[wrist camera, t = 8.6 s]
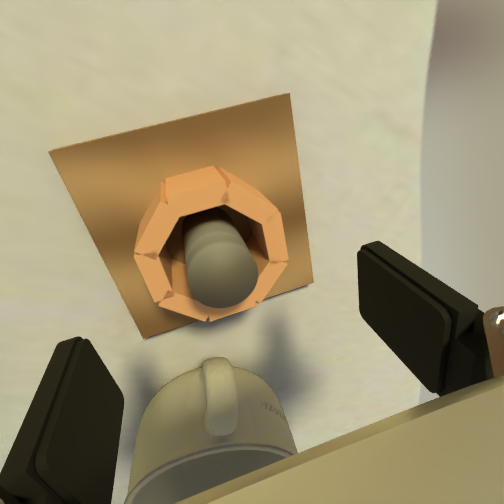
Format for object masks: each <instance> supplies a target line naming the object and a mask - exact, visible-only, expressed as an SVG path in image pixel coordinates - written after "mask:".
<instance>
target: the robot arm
mask: <svg viewBox="0 0 504 504" xmlns="http://www.w3.org/2000/svg"><path fill="white" fill-rule="evenodd" d="M357 265H358V289H359V310H360V314H361V316H362V318H363V319H364V320H365V321H366V322H367V324H368V325H369V326H370V327H371V328H372V329H373V330H374V331H375V332H376V333H377V335H378V336H379V337H380V338H381V339H382V340H383V341H384V342H385V343H386V344H387V345H388V347H389V348H390V349H391V350H392V351H393V352H394V353H395V354H396V355H397V356H398V358H399V359H400V360H401V361H402V362H403V363H404V364H405V365H406V366H407V367H408V368H409V370H410V371H411V372H412V373H413V374H414V375H415V376H416V377H417V378H418V379H419V381H420V382H421V383H422V384H423V385H424V386H425V387H426V388H427V389H428V390H429V391H430V392H432V393H437V394H438V395H439V396H440V397H439V398H436V399H434V400H431V401H429V402H426V403H423V404H421V405H418V406H415V407H413V408H410V409H408V410H405V411H403V412H400V413H398V414H395V415H393V416H390V417H388V418H385V419H383V420H380V421H378V422H375V423H373V424H370V425H368V426H365V427H363V428H360V429H357V430H355V431H352V432H350V433H347V434H345V435H342V436H340V437H337V438H335V439H332V440H330V441H327V442H325V443H322V444H320V445H318V446H315V447H313V448H310V449H308V450H305V451H303V452H300V453H298V454H295V455H293V456H290V457H288V458H285V459H283V460H280V461H278V462H275V463H273V464H270V465H268V466H265V467H263V468H260V469H258V470H256V471H253V472H251V473H248V474H246V475H243V476H241V477H238V478H236V479H233V480H231V481H228V482H226V483H224V484H221V485H219V486H216V487H214V488H211V489H209V490H206V491H204V492H202V493H199V494H197V495H194V496H192V497H189V498H187V499H184V500H182V501H180V502H177V503H175V504H504V307H503V306H501V307H495V308H492V309H490V310H488V311H486V312H485V313H484V312H482V311H481V310H479V309H478V305H477V304H475V303H474V302H472V301H471V300H469V299H468V298H466V297H465V296H463V295H461V294H460V293H458V292H457V291H455V290H454V289H452V288H451V287H449V286H448V285H446V284H445V283H443V282H441V281H440V280H438V279H437V278H435V277H434V276H432V275H431V274H429V273H428V272H426V271H425V270H423V269H422V268H420V267H418V266H417V265H415V264H414V263H412V262H411V261H409V260H408V259H406V258H405V257H403V256H402V255H400V254H398V253H397V252H395V251H394V250H392V249H391V248H389V247H388V246H386V245H385V244H383V243H382V242H380V241H375V242H372V243H369V244H365V245H363V246H361V250H360V251H358V253H357ZM123 409H124V397H123V394H122V392H121V390H120V388H119V387H118V385H117V384H116V382H115V380H114V379H113V377H112V376H111V374H110V372H109V371H108V369H107V368H106V366H105V364H104V363H103V361H102V360H101V358H100V356H99V355H98V353H97V352H96V350H95V349H94V347H93V345H92V344H91V342H90V341H89V340H88V339H82V338H81V337H75V338H71V339H68V340H65V341H62V342H60V343H58V344H57V346H56V348H55V350H54V353H53V355H52V357H51V360H50V362H49V364H48V366H47V369H46V371H45V373H44V375H43V378H42V380H41V382H40V385H39V387H38V389H37V391H36V394H35V396H34V398H33V400H32V403H31V405H30V407H29V410H28V412H27V414H26V416H25V419H24V421H23V423H22V426H21V428H20V430H19V432H18V435H17V437H16V439H15V441H14V444H13V446H12V448H11V451H10V453H9V455H8V457H7V460H6V462H5V464H4V466H3V469H2V471H1V473H0V504H111V500H112V492H113V485H114V477H115V470H116V462H117V454H118V447H119V439H120V432H121V424H122V417H123Z"/></svg>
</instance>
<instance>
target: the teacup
mask: <svg viewBox="0 0 504 504" xmlns="http://www.w3.org/2000/svg"><path fill="white" fill-rule="evenodd" d="M295 454H298V452H297V449H296V446H295V443H294V440H293V437H292V434H291V431H290V428H289V425H288V422H287V419H286V416H285V414H284V411H283V409H282V406H281V404H280V402H279V400H278V398H277V396H276V395H275V393H274V391H273V390H272V389H271V387H270V386H269V385H268V384H267V383H266V382H265V381H264V380H263V379H261V378H260V377H258V376H257V375H255V374H253V373H251V372H249V371H247V370H244V369H240V368H236V367H232V366H231V364H230V362H229V360H228V359H226V358H222V357H215V358H210V359H207V360H205V361H204V362H203V365H202V368H199V369H195V370H192V371H190V372H188V373H186V374H183V375H181V376H179V377H177V378H175V379H174V380H172V381H171V382H169V383H168V384H166V385H165V386H164V387H163V388H162V389H161V390H160V391H159V392H158V393H157V394H156V395H155V396H154V397H153V399H152V400H151V401H150V403H149V405H148V406H147V408H146V410H145V412H144V414H143V417H142V419H141V423H140V426H139V430H138V434H137V439H136V444H135V449H134V455H133V461H132V467H131V473H130V480H129V487H128V494H127V497H126V499H125V502H124V504H175V503H177V502H180V501H182V500H184V499H187V498H189V497H192V496H194V495H197V494H199V493H202V492H204V491H206V490H209V489H211V488H214V487H216V486H219V485H221V484H224V483H226V482H228V481H231V480H233V479H236V478H238V477H241V476H243V475H246V474H248V473H251V472H253V471H256V470H258V469H260V468H263V467H265V466H268V465H270V464H273V463H275V462H278V461H280V460H283V459H285V458H288V457H290V456H293V455H295Z"/></svg>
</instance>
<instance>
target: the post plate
mask: <svg viewBox="0 0 504 504" xmlns="http://www.w3.org/2000/svg"><path fill="white" fill-rule="evenodd" d="M49 154H50V156H51V158H52V160H53V162H54V164H55V166H56V168H57V170H58V172H59V174H60V176H61V178H62V180H63V182H64V184H65V186H66V188H67V190H68V192H69V194H70V195H71V197H72V199H73V201H74V203H75V205H76V207H77V209H78V211H79V213H80V215H81V217H82V219H83V221H84V223H85V225H86V227H87V229H88V231H89V233H90V235H91V237H92V239H93V241H94V243H95V245H96V247H97V249H98V251H99V253H100V255H101V256H102V258H103V260H104V262H105V264H106V266H107V268H108V270H109V272H110V274H111V276H112V278H113V280H114V282H115V284H116V286H117V288H118V290H119V292H120V294H121V296H122V298H123V300H124V302H125V304H126V306H127V308H128V310H129V312H130V314H131V315H132V317H133V319H134V321H135V323H136V325H137V327H138V329H139V331H140V333H141V335H142V337H143V339H144V338H147V337H150V336H153V335H156V334H159V333H162V332H165V331H168V330H171V329H174V328H177V327H180V326H183V325H186V324H189V323H192V322H196V321H199V319H196V318H193V317H190V316H187V315H184V314H181V313H178V312H175V311H172V310H169V309H166V308H163V307H160V306H159V301H158V302H154V300H153V298H152V296H151V294H150V291H149V289H148V287H147V285H146V283H145V281H144V278H143V276H142V274H141V272H140V270H139V267H138V265H137V263H136V261H135V259H134V254H135V252H134V249H135V244H136V239H137V234H138V229H139V224H140V222H141V220H142V218H143V216H144V214H145V212H146V210H147V208H148V206H149V204H150V203H151V201H152V199H153V197H154V195H155V193H156V191H157V189H158V187H159V185H160V183H161V182H163V183H165V179H166V178H169V177H173V176H177V175H180V174H184V173H188V172H191V171H195V170H199V169H203V168H206V167H210V166H214V167H215V168H216V170H217V168H218V166H219V167H220V168H222V169H224V170H225V171H227V172H229V173H231V174H232V175H234V176H236V177H237V178H239V179H241V180H242V181H244V182H246V183H247V184H249V185H251V186H252V187H254V188H256V189H257V190H258V191H259V192H261V193H262V194H263V195H264V196H265V197H266V198H267V199H268V200H269V201H270V202H271V203H272V204H273V205H274V206H275V207H276V208H277V209H278V211H279V212H280V213H281V217H282V223H283V229H284V234H285V240H286V246H287V252H288V258H289V260H286V263H287V264H288V265H287V266H286V267H285V269H284V270H283V272H282V273H281V275H280V276H279V278H278V279H277V280H276V282H275V283H274V285H273V286H272V288H271V289H270V291H269V292H268V293H267V295H266V296H265V298H268V297H271V296H274V295H278V294H281V293H284V292H287V291H290V290H293V289H296V288H299V287H302V286H305V285H308V284H311V283H314V280H313V272H312V265H311V257H310V249H309V241H308V233H307V225H306V218H305V210H304V202H303V194H302V186H301V178H300V170H299V163H298V155H297V147H296V139H295V131H294V123H293V116H292V108H291V100H290V93H288V94H281V95H277V96H273V97H269V98H265V99H261V100H256V101H252V102H248V103H244V104H240V105H236V106H232V107H227V108H223V109H219V110H215V111H211V112H207V113H203V114H198V115H194V116H190V117H186V118H182V119H178V120H174V121H169V122H165V123H161V124H157V125H153V126H149V127H145V128H140V129H136V130H132V131H128V132H124V133H120V134H116V135H111V136H107V137H103V138H99V139H95V140H91V141H87V142H82V143H78V144H74V145H70V146H66V147H62V148H57V149H53V150H51V151H49ZM165 184H166V183H165ZM251 235H252V232H251V228H250V223H249V219H248V216H246V215H244V214H242V213H240V212H238V211H237V210H235V209H233V208H231V207H229V206H227V205H226V204H223V205H220V206H216V207H213V208H209V209H206V210H203V211H199V212H196V213H192V214H189V215H185V216H182V217H179V219H178V221H177V222H176V224H175V226H174V228H173V230H172V231H171V233H170V235H169V237H168V239H167V240H166V242H165V244H166V246H167V249H168V251H169V254H170V256H171V259H173V260H176V261H178V262H180V263H183V264H185V265H186V270H187V277H188V285H189V289H190V291H191V293H192V295H193V296H194V298H195V299H196V300H197V301H199V302H200V303H202V304H203V305H206V306H208V307H212V308H227V307H231V306H234V305H237V304H239V303H241V302H242V301H244V300H245V299H246V298H247V297H248V296H249V295H250V294H251V293H252V292H253V290H254V288H255V287H256V284H257V281H258V267H257V264H256V262H255V260H254V258H253V257H252V255H251V253H250V251H249V250H248V248H247V246H246V243H247V241H248V240H249V238H250V237H251ZM265 298H264V299H265Z"/></svg>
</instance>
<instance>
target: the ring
mask: <svg viewBox="0 0 504 504" xmlns="http://www.w3.org/2000/svg"><path fill="white" fill-rule="evenodd" d="M165 183H166V184H165ZM165 183H163V182H161V183H160V185H159V187H158V189H157V191H156V193H155V195H154V197H153V199H152V201H151V203H150V204H149V206H148V208H147V210H146V212H145V214H144V216H143V218H142V220H141V222H140V224H139V229H138V234H137V239H136V244H135V249H134V252H135V254H134V259H135V261H136V263H137V265H138V267H139V270H140V272H141V274H142V276H143V278H144V281H145V283H146V285H147V287H148V289H149V291H150V294H151V296H152V298H153V300H154V302H158V301H159V306H160V307H163V308H166V309H169V310H172V311H175V312H178V313H181V314H184V315H187V316H190V317H193V318H196V319H199V320H201V321H204V322H205V321H206V320H207V318H208V317H209V319H210V322H211V321H214V320H217V319H220V318H223V317H226V316H229V315H232V314H235V313H238V312H241V311H244V310H247V309H250V308H253V307H256V306H257V305H256V301H257V302H259V303H261V302H262V301H263V299H264V298H265V296H266V295H267V293H268V292H269V291H270V289H271V288H272V286H273V285H274V283H275V282H276V280H277V279H278V278H279V276H280V275H281V273H282V272H283V270H284V269H285V267H286V266H287V265H288V264H287V263H286V260H289V258H288V252H287V246H286V240H285V234H284V229H283V223H282V217H281V213H280V212H279V211H278V209H277V208H276V207H275V206H274V205H273V204H272V203H271V202H270V201H269V200H268V199H267V198H266V197H265V196H264V195H263V194H262V193H261V192H259V191H258V190H257V189H256V188H254V187H252V186H251V185H249V184H247V183H246V182H244V181H242V180H241V179H239V178H237V177H236V176H234V175H232V174H231V173H229V172H227V171H225V170H224V169H222V168H220V167H219V166H218V168H217V170H216V168H215V167H214V166H210V167H206V168H203V169H199V170H195V171H191V172H188V173H184V174H180V175H177V176H173V177H169V178H166V179H165ZM223 204H226V205H227V206H229V207H231V208H233V209H235V210H237V211H238V212H240V213H242V214H244V215H246V216H248V219H249V223H250V228H251V232H252V235H251V237H250V238H249V240H248V241H247V243H246V246H247V248H248V250H249V251H250V253H251V255H252V257H253V258H254V260H255V262H256V264H257V267H258V281H257V284H256V287H255V288H254V290H253V292H252V293H251V294H250V295H249V296H248V297H247V298H246V299H245V300H244V301H242V302H241V303H239V304H237V305H234V306H231V307H227V308H212V307H208V306H206V305H203V304H202V303H200V302H199V301H197V300H196V299H195V298H194V296H193V295H192V293H191V291H190V289H189V285H188V277H187V270H186V265H185V264H183V263H180V262H178V261H176V260H173V259H171V256H170V254H169V251H168V249H167V246H166V244H165V242H166V240H167V239H168V237H169V235H170V233H171V231H172V230H173V228H174V226H175V224H176V222H177V221H178V219H179V217H182V216H185V215H189V214H192V213H196V212H199V211H203V210H206V209H209V208H213V207H216V206H220V205H223Z"/></svg>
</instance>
